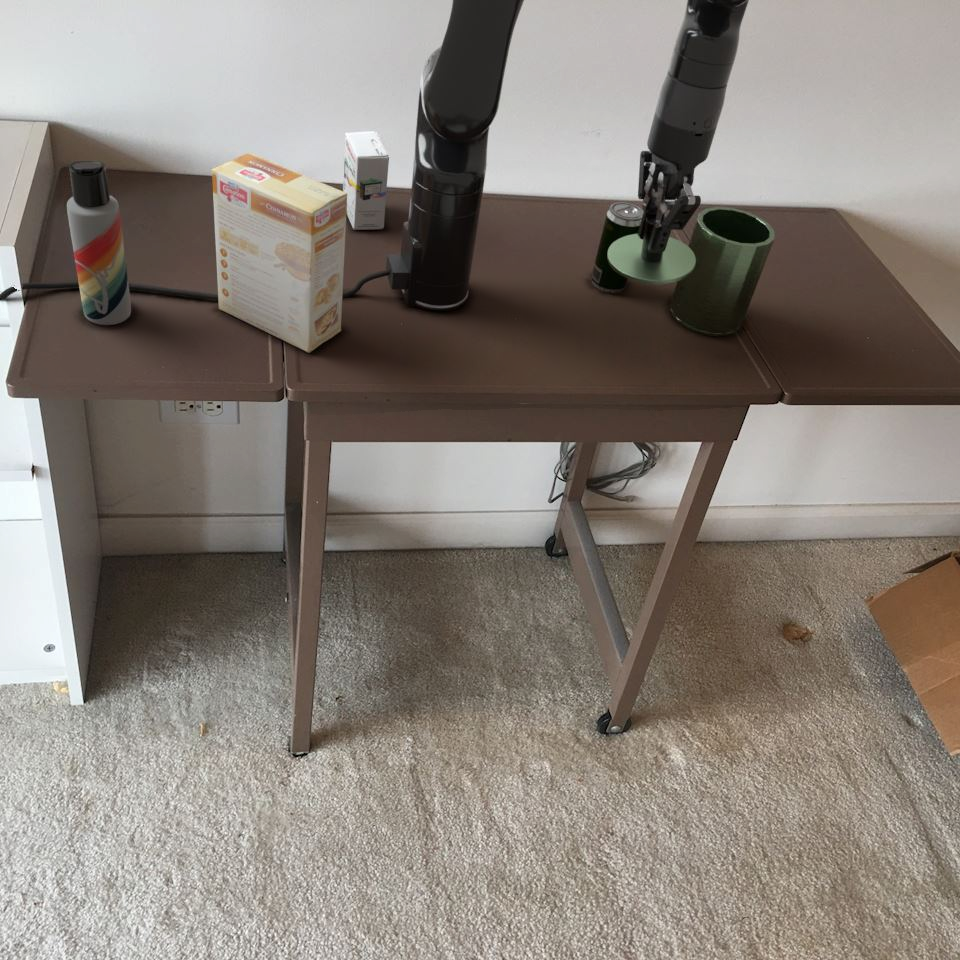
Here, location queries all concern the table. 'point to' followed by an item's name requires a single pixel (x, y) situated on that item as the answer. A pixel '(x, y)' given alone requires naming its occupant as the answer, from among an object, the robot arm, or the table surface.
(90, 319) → the lotion bottle
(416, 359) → the table surface
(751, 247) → the trash can
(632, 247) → the bin lid
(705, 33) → the robot arm
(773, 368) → the table surface
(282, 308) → the coffeecake box
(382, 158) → the ink box
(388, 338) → the table surface
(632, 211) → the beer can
